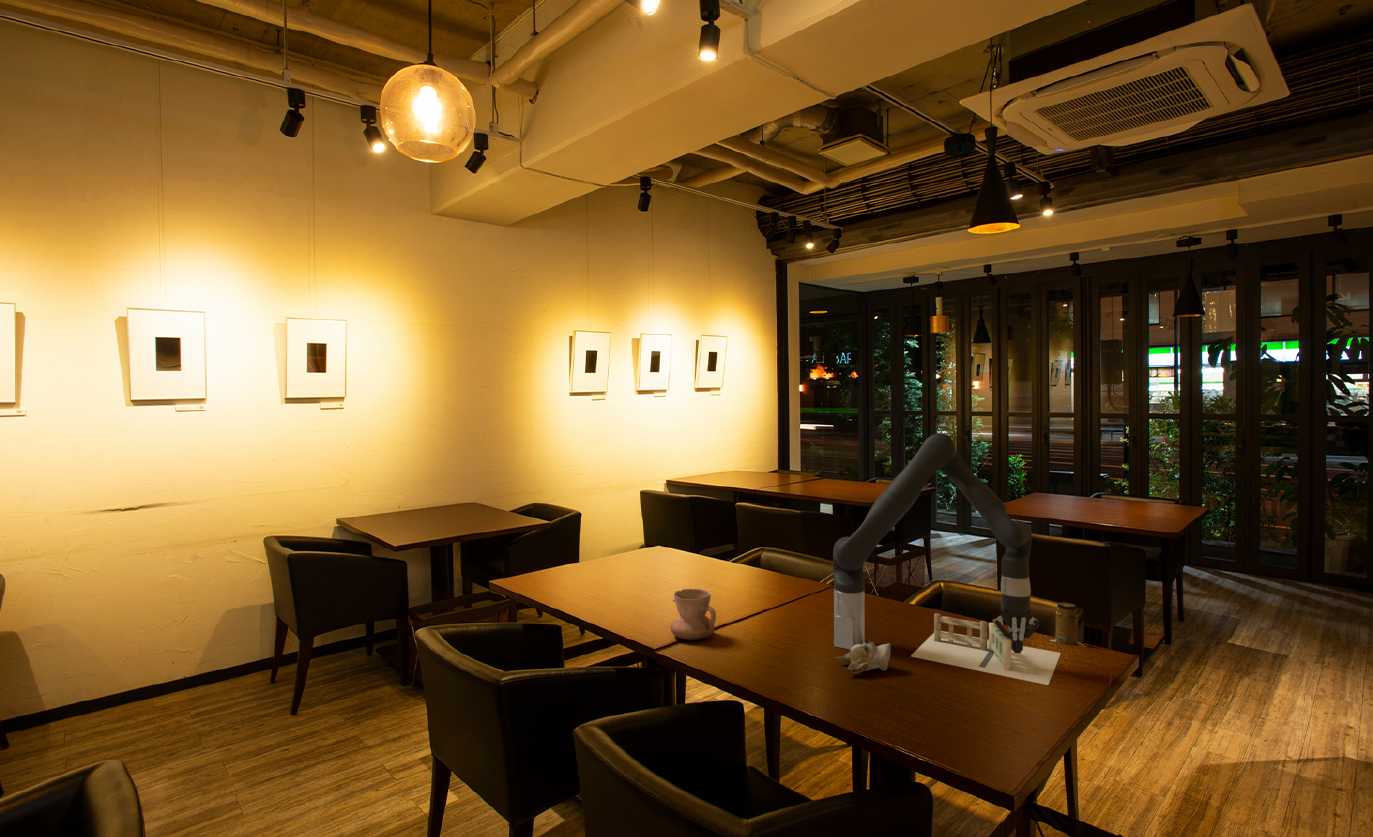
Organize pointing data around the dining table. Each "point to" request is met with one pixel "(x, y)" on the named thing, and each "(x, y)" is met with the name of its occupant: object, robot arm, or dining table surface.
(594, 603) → the dining table surface
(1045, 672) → the card
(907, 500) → the robot arm
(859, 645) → the ceramic sculpture
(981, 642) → the fence fixed
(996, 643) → the fence gate
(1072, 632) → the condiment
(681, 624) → the ceramic jug
